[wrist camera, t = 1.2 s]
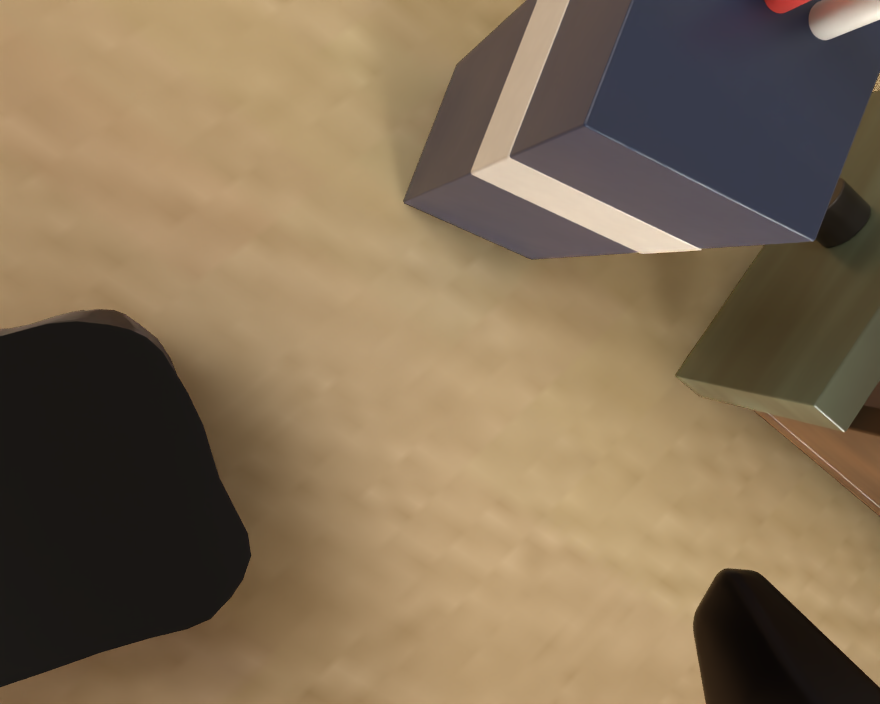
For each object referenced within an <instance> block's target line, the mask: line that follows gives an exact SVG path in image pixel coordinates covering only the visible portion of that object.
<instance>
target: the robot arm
mask: <svg viewBox="0 0 880 704" xmlns="http://www.w3.org/2000/svg"><path fill="white" fill-rule="evenodd" d="M693 631H694V638H695V643H696V649H697V655H698V661H699V667H700V672H701V678H702V684H703V690H704V696H705V701H706V704H880V688H879V687H878V686H877V685H876V684H875V683H874V682H873V681H872V680H871V679H870V678H869V677H868V676H867V675H866V674H865V673H864V672H863V671H862V670H861V669H860V668H859V667H858V666H857V665H855V664H854V663H853V662H852V661H851V660H850V659H849V658H848V657H847V656H846V655H845V654H844V653H843V652H842V651H841V650H840V649H839V648H838V647H837V646H836V645H835V644H834V643H832V642H831V641H830V640H829V639H828V638H827V637H826V636H825V635H824V634H823V633H822V632H821V631H820V630H819V629H818V628H817V627H816V626H815V625H814V624H813V623H812V622H811V621H809V620H808V619H807V618H806V617H805V616H804V615H803V614H802V613H801V612H800V611H799V610H798V609H797V608H796V607H795V606H794V605H793V604H792V603H791V602H790V601H789V600H788V599H786V598H785V597H784V596H783V595H782V594H781V593H780V592H779V591H778V590H777V589H776V588H775V587H774V586H773V585H772V584H771V583H770V582H769V581H768V580H767V579H766V578H764V577H763V576H762V575H761V574H759V573H758V572H755V571H752V570H741V569H729V568H728V569H723V570H722V571H720V572H719V573H718V574H717V575H716V577H715V578H714V580H713V582H712V584H711V585H710V587H709V589H708V591H707V592H706V594H705V596H704V597H703V599H702V601H701V603H700V604H699V606H698V608H697V610H696V612H695V616H694V622H693Z"/></svg>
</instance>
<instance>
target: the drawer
mask: <svg viewBox="0 0 880 704" xmlns="http://www.w3.org/2000/svg"><path fill="white" fill-rule="evenodd" d="M675 376H676V377H677V378H678V379H679V380H680V381H681V382H683V383H684V384H685V385H686V386H687V387H689V388H690V389H691V390H692V391H694V392H695V393H696V394H697V395H698V396H700V397H704V398H708V399H712V400H716V401H720V402H724V403H728V404H732V405H736V406H740V407H744V408H748V409H752V410H754V411H755V412H756V413H757V414H759V415H760V416H761V417H762V418H763V419H765V420H766V421H767V422H768V423H769V424H771V425H772V426H773V427H774V428H775V429H776V430H778V431H779V432H780V433H781V434H782V435H784V436H785V437H786V438H787V439H788V440H790V441H791V442H792V443H793V444H794V445H796V446H797V447H798V448H799V449H800V450H802V451H803V452H804V453H805V454H806V455H807V456H809V457H810V458H811V459H812V460H813V461H815V462H816V463H817V464H818V465H819V466H821V467H822V468H823V469H824V470H825V471H827V472H828V473H829V474H830V475H831V476H833V477H834V478H835V479H836V480H837V481H838V482H840V483H841V484H842V485H843V486H844V487H846V488H847V489H848V490H849V491H850V492H852V493H853V494H854V495H855V496H856V497H858V498H859V499H860V500H861V501H862V502H864V503H865V504H866V505H867V506H868V507H869V508H871V509H872V510H873V511H874V512H875V513H877V514H878V515H879V516H880V90H879V91H875V92H872V94H871V96H870V99H869V101H868V104H867V107H866V109H865V112H864V114H863V117H862V120H861V122H860V125H859V127H858V130H857V133H856V135H855V138H854V140H853V143H852V146H851V148H850V151H849V154H848V156H847V159H846V161H845V164H844V167H843V169H842V172H841V174H840V177H839V180H838V182H837V185H836V187H835V190H834V193H833V195H832V198H831V200H830V203H829V206H828V208H827V211H826V214H825V216H824V219H823V221H822V224H821V227H820V229H819V232H818V234H817V237H816V239H815V241H813V242H799V243H783V244H767V245H764V246H763V248H762V249H761V251H760V252H759V254H758V255H757V257H756V258H755V260H754V261H753V262H752V264H751V265H750V267H749V268H748V270H747V271H746V273H745V274H744V275H743V277H742V278H741V280H740V281H739V283H738V284H737V286H736V287H735V289H734V290H733V291H732V293H731V294H730V296H729V297H728V299H727V300H726V302H725V303H724V305H723V306H722V307H721V309H720V310H719V312H718V313H717V315H716V316H715V318H714V319H713V321H712V322H711V323H710V325H709V326H708V328H707V329H706V331H705V332H704V334H703V335H702V337H701V338H700V339H699V341H698V342H697V344H696V345H695V347H694V348H693V350H692V351H691V353H690V354H689V355H688V357H687V358H686V360H685V361H684V363H683V364H682V366H681V367H680V369H679V370H678V371H677V373H676V374H675Z"/></svg>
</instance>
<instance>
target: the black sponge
mask: <svg viewBox="0 0 880 704" xmlns="http://www.w3.org/2000/svg"><path fill="white" fill-rule="evenodd" d="M250 558H251V552H250V545H249V538H248V533H247V531H246V529H245V527H244V525H243V523H242V521H241V519H240V517H239V515H238V513H237V511H236V510H235V508H234V506H233V504H232V502H231V500H230V498H229V496H228V494H227V492H226V490H225V488H224V486H223V484H222V482H221V480H220V478H219V475H218V472H217V469H216V466H215V462H214V459H213V456H212V452H211V449H210V446H209V443H208V439H207V436H206V433H205V430H204V426H203V424H202V422H201V420H200V417H199V415H198V413H197V411H196V409H195V407H194V405H193V403H192V401H191V399H190V396H189V394H188V393H187V391H186V389H185V388H184V386H183V384H182V383H181V381H180V379H179V378H178V376H177V374H176V371H175V368H174V366H173V363H172V361H171V358H170V357H169V355H168V354H167V352H166V351H165V349H164V348H163V346H162V345H161V343H160V342H159V340H158V339H157V338H156V337H155V336H153V335H152V334H151V333H150V332H148V331H147V330H146V329H145V328H143V327H142V326H141V325H140V324H138V323H137V322H135V321H134V320H133V319H131V318H130V317H128V316H127V315H126V314H123V313H120V312H118V311H115V310H103V309H94V310H88V311H85V310H80V311H75V312H70V313H66V314H62V315H58V316H54V317H51V318H48V319H45V320H42V321H39V322H36V323H33V324H29V325H25V326H20V327H15V328H10V329H0V687H2V686H5V685H8V684H11V683H14V682H17V681H20V680H23V679H26V678H29V677H32V676H35V675H38V674H41V673H44V672H47V671H50V670H52V669H55V668H58V667H61V666H64V665H67V664H70V663H72V662H75V661H78V660H81V659H84V658H86V657H89V656H92V655H95V654H98V653H101V652H104V651H107V650H111V649H114V648H118V647H121V646H125V645H128V644H131V643H135V642H138V641H142V640H145V639H149V638H152V637H157V636H161V635H165V634H169V633H173V632H177V631H181V630H185V629H188V628H191V627H193V626H195V625H198V624H200V623H202V622H204V621H207V620H209V619H211V618H212V617H213V616H214V615H215V614H216V613H217V612H218V610H219V609H220V608H221V607H222V606H223V605H224V604H225V603H226V602H227V601H228V600H229V599H230V598H231V597H232V595H233V594H234V592H235V591H236V589H237V588H238V586H239V585H240V583H241V582H242V580H243V578H244V575H245V572H246V569H247V566H248V563H249V561H250Z"/></svg>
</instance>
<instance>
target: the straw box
mask: <svg viewBox="0 0 880 704" xmlns="http://www.w3.org/2000/svg"><path fill="white" fill-rule="evenodd" d="M879 73H880V0H526V1H525V2H524V3H523V4H522V5H521V6H520V7H518V8H517V9H516V10H515V11H514V12H513V13H512V14H511V15H510V16H509V17H508V18H506V19H505V20H504V21H503V22H502V23H501V24H500V25H499V26H498V27H497V28H496V29H495V30H493V31H492V32H491V33H490V34H489V35H488V36H487V37H486V38H485V39H484V40H483V41H481V42H480V43H479V44H478V45H477V46H476V47H475V48H474V49H473V50H472V51H471V52H469V53H468V54H467V55H466V56H465V57H464V58H463V59H462V60H461V61H460V62H459V63H458V64H457V65H456V67H455V70H454V72H453V75H452V77H451V80H450V82H449V85H448V88H447V90H446V93H445V95H444V98H443V100H442V103H441V106H440V108H439V111H438V113H437V116H436V118H435V121H434V123H433V126H432V129H431V131H430V134H429V136H428V139H427V141H426V144H425V146H424V149H423V152H422V154H421V157H420V159H419V162H418V164H417V167H416V170H415V172H414V175H413V177H412V180H411V182H410V185H409V187H408V190H407V193H406V195H405V198H404V200H403V202H404V203H405V204H407V205H410V206H412V207H414V208H416V209H419V210H421V211H423V212H426V213H428V214H430V215H432V216H435V217H437V218H439V219H441V220H444V221H446V222H448V223H450V224H453V225H455V226H457V227H459V228H462V229H464V230H466V231H468V232H471V233H473V234H475V235H477V236H480V237H482V238H484V239H486V240H489V241H491V242H493V243H495V244H498V245H500V246H502V247H505V248H507V249H509V250H511V251H514V252H516V253H518V254H520V255H523V256H525V257H527V258H529V259H546V258H562V257H578V256H594V255H609V254H625V253H641V254H648V253H665V252H682V251H698V250H702V249H704V248H720V247H736V246H751V245H767V244H783V243H799V242H813V241H815V239H816V237H817V234H818V232H819V229H820V227H821V224H822V221H823V219H824V216H825V214H826V211H827V208H828V206H829V203H830V200H831V198H832V195H833V193H834V190H835V187H836V185H837V182H838V180H839V177H840V174H841V172H842V169H843V167H844V164H845V161H846V159H847V156H848V154H849V151H850V148H851V146H852V143H853V140H854V138H855V135H856V133H857V130H858V127H859V125H860V122H861V120H862V117H863V114H864V112H865V109H866V107H867V104H868V101H869V99H870V96H871V94H872V91H873V88H874V86H875V83H876V80H877V78H878V75H879Z"/></svg>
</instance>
